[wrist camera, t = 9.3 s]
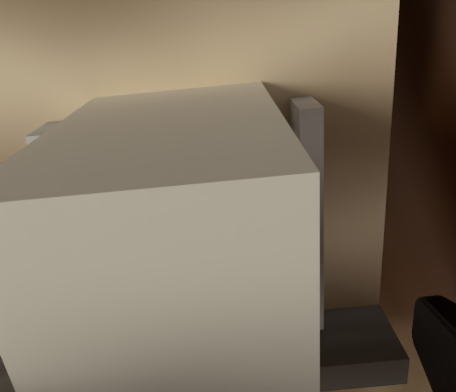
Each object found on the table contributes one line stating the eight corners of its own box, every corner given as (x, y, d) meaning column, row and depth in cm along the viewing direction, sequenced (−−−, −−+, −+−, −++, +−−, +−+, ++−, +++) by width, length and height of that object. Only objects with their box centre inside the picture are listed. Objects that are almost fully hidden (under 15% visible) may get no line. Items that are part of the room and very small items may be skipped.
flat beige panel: (-452, -51, 11) (-786, -82, 7) (385, -141, 11) (474, -220, 7) (-184, 355, 17) (-296, 452, 13) (363, 304, 16) (406, 388, 13)
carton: (260, 81, 11) (319, 172, 5) (273, 295, 14) (320, 525, 8) (93, 97, 11) (-61, 208, 5) (140, 307, 14) (79, 546, 8)
